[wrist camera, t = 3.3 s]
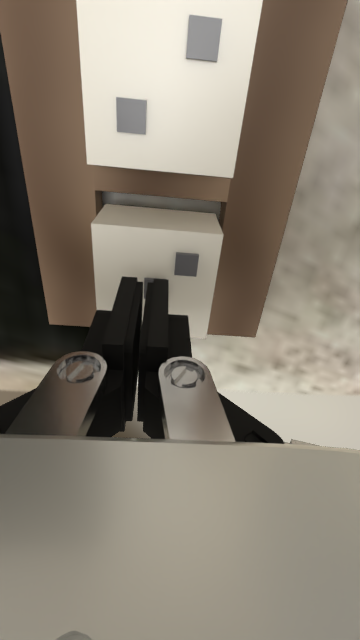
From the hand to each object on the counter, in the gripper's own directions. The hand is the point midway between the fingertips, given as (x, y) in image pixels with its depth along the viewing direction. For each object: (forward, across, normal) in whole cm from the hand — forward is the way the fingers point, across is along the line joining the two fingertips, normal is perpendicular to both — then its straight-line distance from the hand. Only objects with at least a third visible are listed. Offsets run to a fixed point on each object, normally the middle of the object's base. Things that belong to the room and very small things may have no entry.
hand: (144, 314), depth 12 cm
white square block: (+5, 0, 0) cm, 5 cm away
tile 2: (+5, 0, -7) cm, 9 cm away
